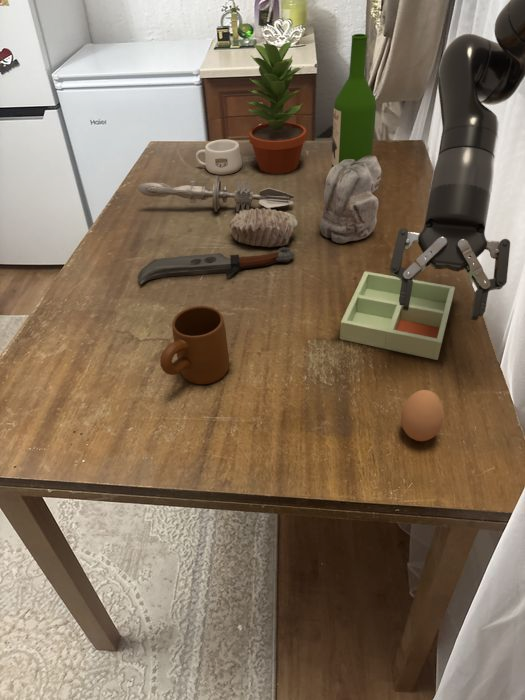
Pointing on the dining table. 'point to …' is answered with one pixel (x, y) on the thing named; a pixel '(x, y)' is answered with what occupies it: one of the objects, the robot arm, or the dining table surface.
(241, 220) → the seashell
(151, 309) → the dining table surface
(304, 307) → the dining table surface
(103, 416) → the dining table surface
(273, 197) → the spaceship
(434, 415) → the egg
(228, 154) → the mug
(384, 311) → the egg tray
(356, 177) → the figurine
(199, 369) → the mug
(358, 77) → the wine bottle
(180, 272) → the knife
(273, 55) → the potted plant
